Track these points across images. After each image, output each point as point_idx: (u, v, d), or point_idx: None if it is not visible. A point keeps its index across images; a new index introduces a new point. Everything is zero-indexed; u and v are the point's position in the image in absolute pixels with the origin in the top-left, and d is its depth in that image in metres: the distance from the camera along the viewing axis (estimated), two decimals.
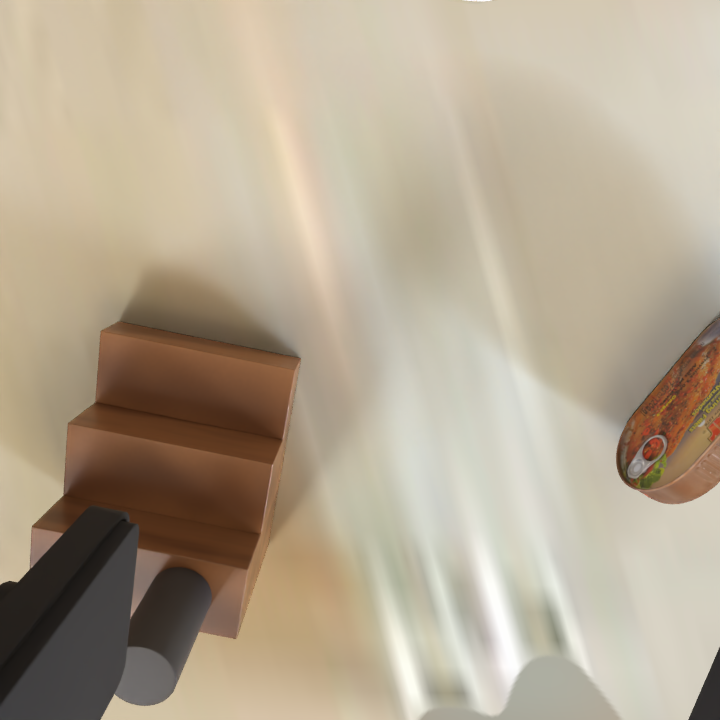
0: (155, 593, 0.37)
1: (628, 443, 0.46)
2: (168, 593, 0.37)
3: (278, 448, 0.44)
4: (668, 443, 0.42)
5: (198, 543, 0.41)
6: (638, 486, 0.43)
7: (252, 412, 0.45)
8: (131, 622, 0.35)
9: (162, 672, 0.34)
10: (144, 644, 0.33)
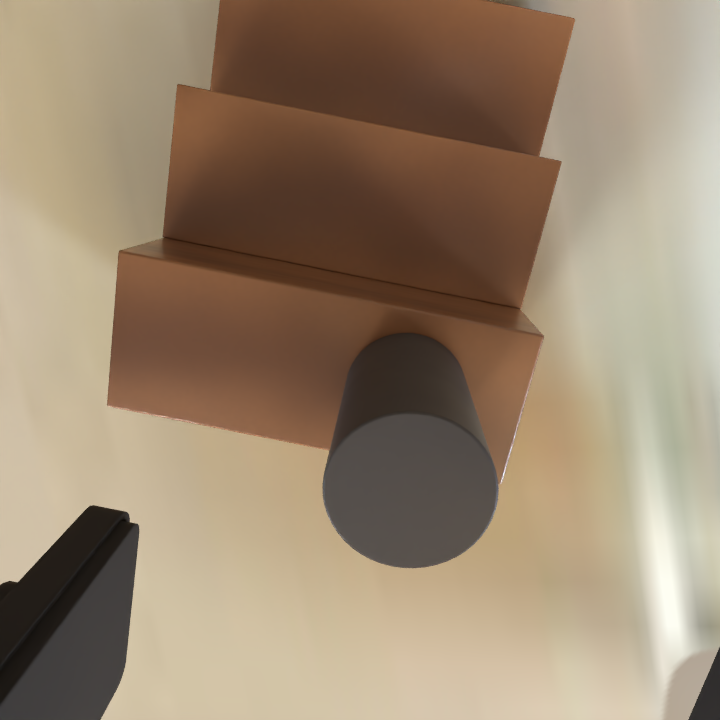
0: (386, 357, 0.18)
1: None
2: (415, 355, 0.18)
3: None
4: None
5: (429, 302, 0.22)
6: None
7: (488, 108, 0.26)
8: (362, 392, 0.16)
9: (468, 481, 0.14)
10: (429, 410, 0.14)
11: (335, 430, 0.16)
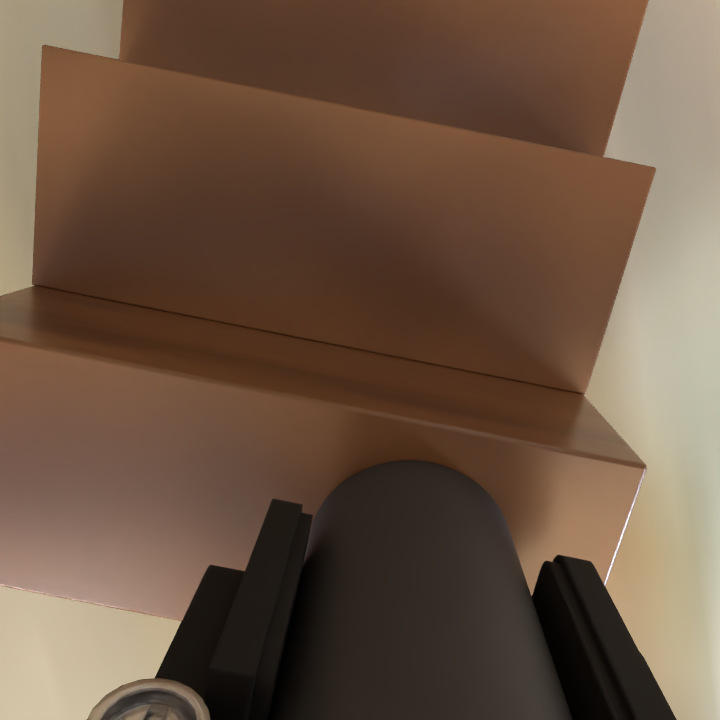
0: (375, 537, 0.09)
1: None
2: (430, 534, 0.09)
3: None
4: None
5: (447, 398, 0.13)
6: None
7: (529, 91, 0.17)
8: (323, 658, 0.07)
9: None
10: None
11: None
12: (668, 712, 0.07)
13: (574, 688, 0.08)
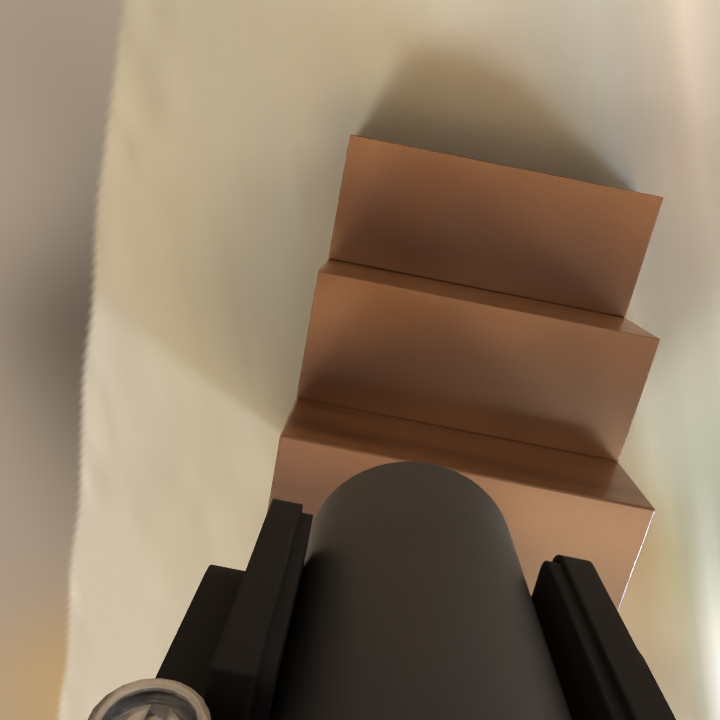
0: (375, 538, 0.09)
1: None
2: (430, 536, 0.09)
3: None
4: None
5: (546, 469, 0.24)
6: None
7: (582, 272, 0.28)
8: (323, 660, 0.07)
9: None
10: None
11: None
12: (668, 712, 0.07)
13: (574, 688, 0.08)
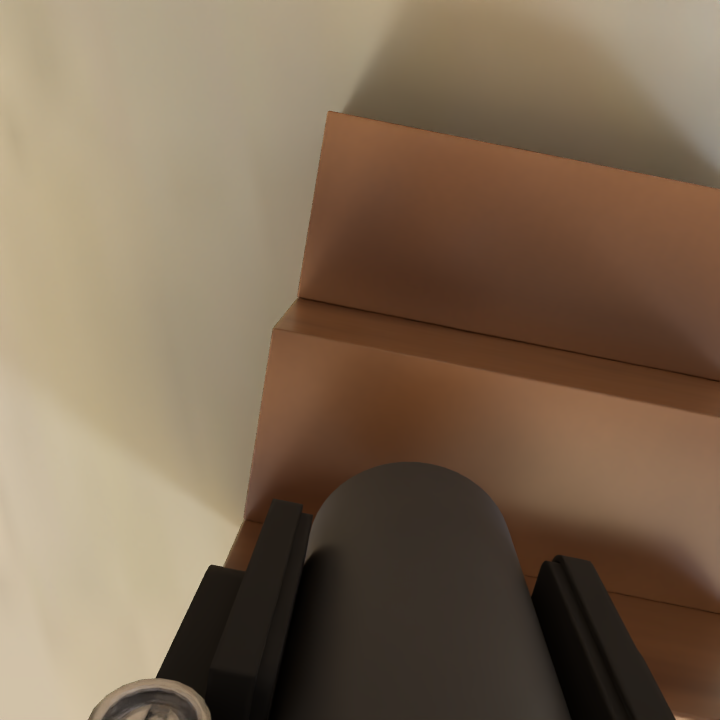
0: (375, 538, 0.09)
1: None
2: (430, 536, 0.09)
3: None
4: None
5: (644, 657, 0.15)
6: None
7: (678, 318, 0.19)
8: (322, 660, 0.07)
9: None
10: None
11: None
12: (667, 712, 0.07)
13: (573, 688, 0.08)
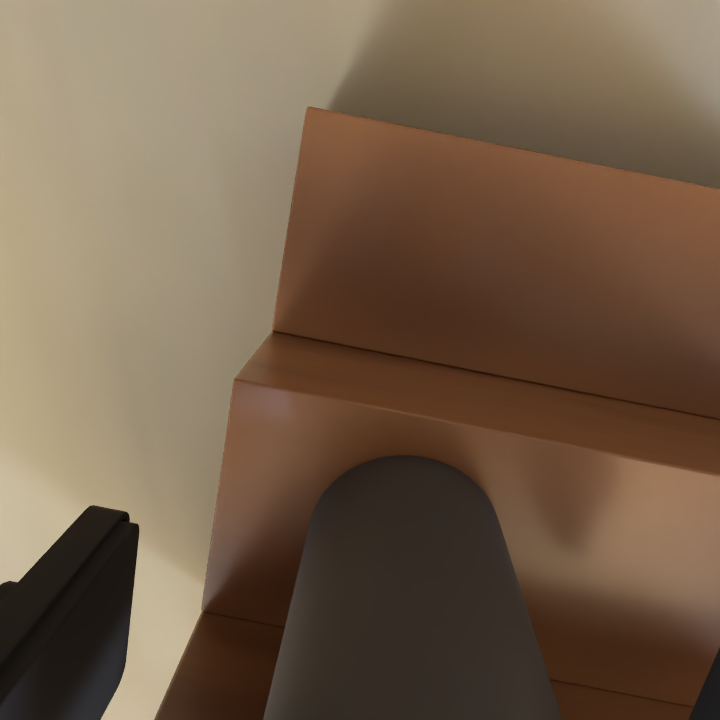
0: (371, 525, 0.10)
1: None
2: (423, 523, 0.10)
3: None
4: None
5: None
6: None
7: None
8: (321, 634, 0.08)
9: None
10: None
11: (265, 717, 0.08)
12: None
13: None
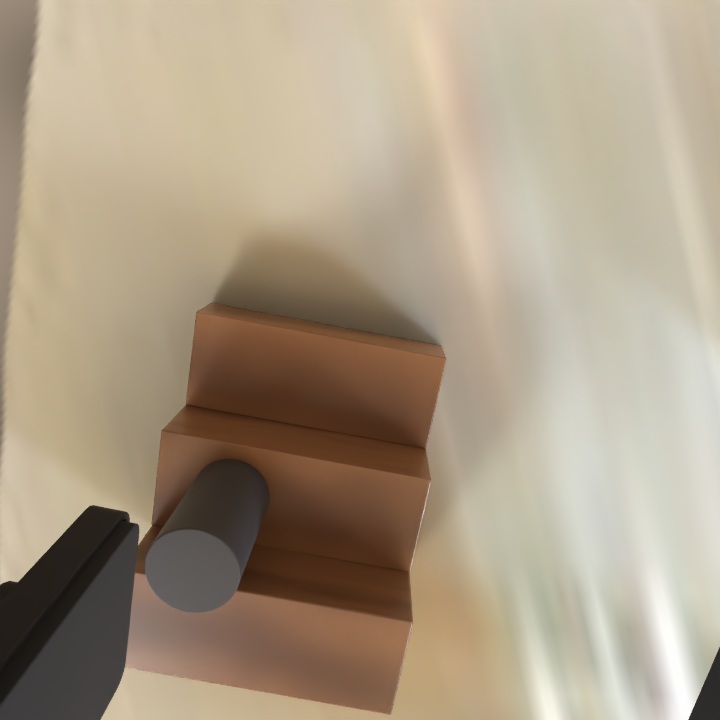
0: (203, 482, 0.30)
1: None
2: (220, 481, 0.30)
3: (426, 459, 0.34)
4: None
5: (338, 587, 0.31)
6: None
7: (388, 414, 0.35)
8: (177, 510, 0.28)
9: (222, 564, 0.26)
10: (199, 527, 0.25)
11: None
12: None
13: None
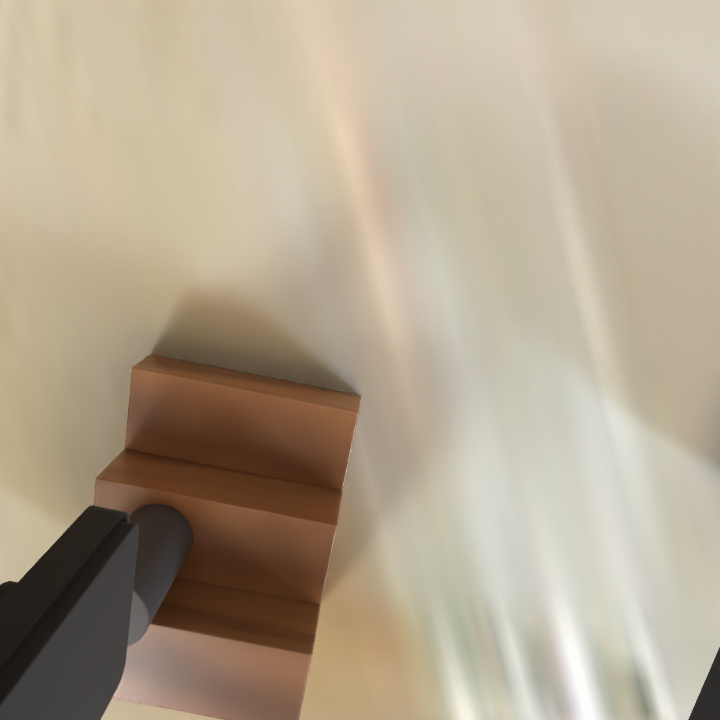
0: None
1: None
2: (142, 528, 0.33)
3: (339, 503, 0.38)
4: None
5: (250, 620, 0.35)
6: None
7: (307, 460, 0.39)
8: None
9: (133, 609, 0.29)
10: None
11: None
12: None
13: None
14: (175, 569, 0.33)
